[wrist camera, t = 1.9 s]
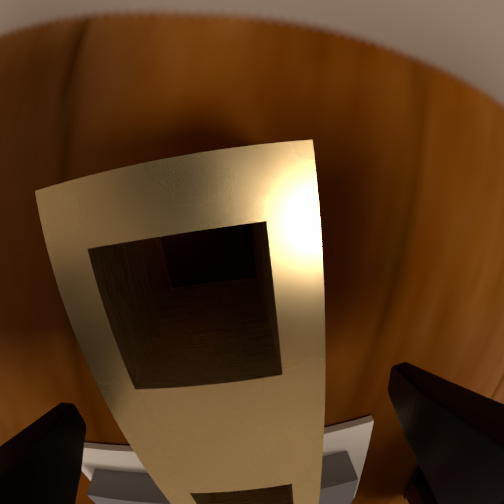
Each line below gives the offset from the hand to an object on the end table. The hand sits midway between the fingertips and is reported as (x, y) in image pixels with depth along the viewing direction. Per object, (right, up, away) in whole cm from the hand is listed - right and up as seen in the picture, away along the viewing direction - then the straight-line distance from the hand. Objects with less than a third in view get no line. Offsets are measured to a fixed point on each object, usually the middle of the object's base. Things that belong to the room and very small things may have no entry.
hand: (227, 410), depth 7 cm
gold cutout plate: (0, +1, +3) cm, 4 cm away
